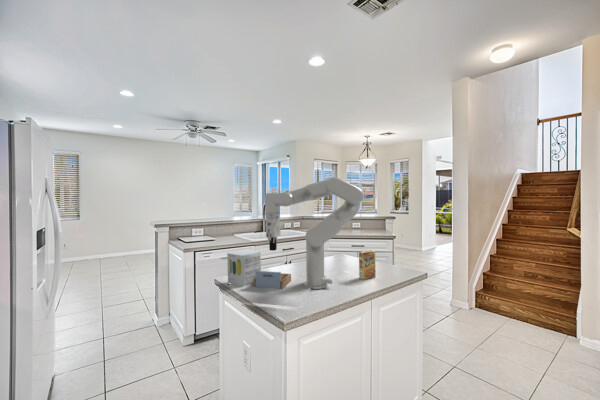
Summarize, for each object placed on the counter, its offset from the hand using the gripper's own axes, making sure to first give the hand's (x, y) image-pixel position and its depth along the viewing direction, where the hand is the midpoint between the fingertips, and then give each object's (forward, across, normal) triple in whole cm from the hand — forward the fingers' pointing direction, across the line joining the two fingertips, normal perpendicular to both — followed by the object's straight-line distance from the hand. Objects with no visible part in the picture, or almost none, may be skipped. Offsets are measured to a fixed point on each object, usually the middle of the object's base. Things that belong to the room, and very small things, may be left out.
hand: (273, 249), depth 149 cm
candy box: (+19, +26, -48) cm, 58 cm away
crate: (+19, -1, 0) cm, 19 cm away
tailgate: (+18, -7, 0) cm, 19 cm away
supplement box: (+19, -1, +17) cm, 26 cm away
